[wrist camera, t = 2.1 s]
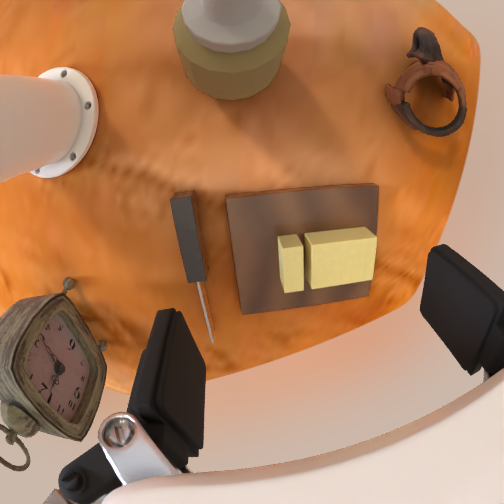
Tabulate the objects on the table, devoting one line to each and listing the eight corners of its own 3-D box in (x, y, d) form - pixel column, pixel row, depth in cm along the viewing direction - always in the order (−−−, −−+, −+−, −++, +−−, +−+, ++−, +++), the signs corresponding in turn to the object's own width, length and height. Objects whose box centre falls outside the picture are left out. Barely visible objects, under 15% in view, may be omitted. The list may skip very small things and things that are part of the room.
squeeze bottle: (273, 30, 20) (331, -78, 4) (275, 103, 23) (353, 67, 7) (189, 33, 20) (132, -73, 3) (189, 107, 23) (112, 76, 7)
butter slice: (280, 277, 30) (284, 293, 28) (277, 235, 28) (282, 248, 25) (297, 275, 30) (303, 290, 28) (296, 233, 28) (303, 245, 25)
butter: (304, 274, 30) (311, 289, 28) (304, 232, 28) (311, 244, 25) (362, 266, 31) (372, 279, 28) (365, 226, 28) (377, 237, 26)
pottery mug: (453, 117, 24) (477, 144, 19) (386, 118, 28) (397, 145, 23) (439, 27, 17) (467, 31, 11) (365, 28, 21) (373, 29, 16)
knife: (206, 330, 35) (204, 344, 32) (175, 192, 27) (169, 199, 24) (221, 329, 35) (220, 343, 32) (194, 189, 27) (190, 196, 24)
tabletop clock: (119, 350, 36) (73, 503, 13) (75, 351, 36) (22, 480, 13) (75, 265, 29) (-35, 428, 7) (32, 274, 29) (-66, 404, 7)
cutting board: (241, 308, 33) (242, 315, 32) (225, 195, 27) (225, 198, 26) (365, 290, 34) (368, 295, 33) (373, 183, 27) (379, 185, 26)
